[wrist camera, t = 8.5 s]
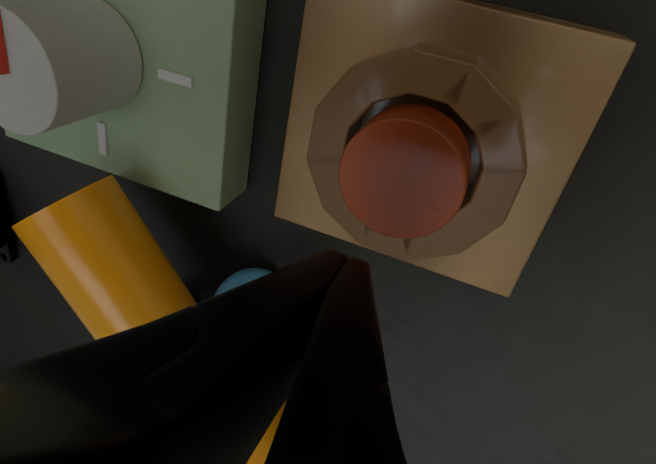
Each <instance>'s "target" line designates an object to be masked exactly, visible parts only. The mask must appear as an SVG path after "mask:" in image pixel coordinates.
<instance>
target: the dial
mask: <svg viewBox="0 0 656 464" xmlns="http://www.w3.org/2000/svg"><path fill="white" fill-rule="evenodd" d="M141 78H142V59H141V53H140V50H139V46H138V43H137V41H136V38H135V36H134V34H133V32H132V30H131V29H130V27H129V25H128V24H127V22H126V21H125V20H124V18H123V17H122V16H121V15H120V14H119V13H118V12H117V11H116V10H115V9H114V8H113V7H112V6H110V5H109V4H107V3H106V2H104V1H102V0H0V126H1V127H3V128H5V129H6V130H8V131H11V132H13V133H16V134H19V135H26V136H33V135H38V134H41V133H44V132H47V131H50V130H53V129H56V128H59V127H62V126H65V125H68V124H71V123H73V122H76V121H79V120H82V119H85V118H88V117H91V116H94V115H97V114H100V113H103V112H106V111H109V110H112V109H115V108H118V107H120V106H123V105H125V104H127V103H128V102H129V101H130V100H131V99H132V98H133V97H134V96H135V94H136V93H137V91H138V89H139V86H140V83H141Z"/></svg>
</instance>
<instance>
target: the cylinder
mask: <svg viewBox="0 0 656 464" xmlns="http://www.w3.org/2000/svg"><path fill="white" fill-rule="evenodd" d="M12 229H13V230H14V231H15V233H16V234H17V235H18V237H19V238H20V240H21V241H22V242H23V244H24V245H25V246H26V248H27V249H28V250H29V252H30V253H31V254H32V256H33V257H34V258H35V260H36V261H37V262H38V264H39V265H40V266H41V268H42V269H43V270H44V272H45V273H46V274H47V276H48V277H49V278H50V280H51V281H52V282H53V284H54V285H55V286H56V288H57V289H58V290H59V292H60V293H61V294H62V296H63V297H64V298H65V300H66V301H67V302H68V304H69V305H70V306H71V308H72V309H73V311H74V312H75V313H76V315H77V316H78V317H79V319H80V320H81V321H82V323H83V324H84V325H85V327H86V328H87V329H88V331H89V332H90V333H91V335H92V336H93V337H94V339H95V340H97V339H100V338H103V337H106V336H110V335H113V334H116V333H119V332H122V331H125V330H128V329H131V328H134V327H137V326H140V325H143V324H146V323H149V322H151V321H154V320H156V319H159V318H162V317H164V316H167V315H169V314H172V313H174V312H177V311H179V310H182V309H184V308H187V307H189V306H191V305H193V306H195V305H196V304H197V303H196V301H195V300H194V298H193V297H192V295H191V294H190V292H189V291H188V289H187V288H186V286H185V285H184V283H183V281H182V280H181V278H180V277H179V275H178V274H177V272H176V271H175V269H174V268H173V266H172V265H171V263H170V262H169V260H168V259H167V257H166V256H165V254H164V253H163V251H162V250H161V248H160V246H159V245H158V243H157V242H156V240H155V239H154V237H153V236H152V234H151V233H150V231H149V230H148V228H147V227H146V225H145V224H144V222H143V221H142V219H141V218H140V216H139V214H138V213H137V211H136V210H135V208H134V207H133V205H132V204H131V202H130V201H129V199H128V198H127V196H126V195H125V193H124V192H123V190H122V189H121V187H120V185H119V184H118V182H117V181H116V179H115V178H114V176H113V175H110V176H107V177H105V178H103V179H101V180H99V181H97V182H95V183H93V184H91V185H88V186H86V187H84V188H82V189H80V190H79V191H77V192H75V193H73V194H71V195H69V196H67V197H65V198H63V199H61V200H59V201H57V202H55V203H53V204H51V205H49V206H48V207H46V208H44V209H42V210H40V211H38V212H36V213H34V214H33V215H31V216H29V217H27V218H25V219H24V220H22V221H20V222H18V223H17V224H15V225H13V226H12ZM271 272H272V271H269V270H267V269H262V268H248V269H244V270H241V271H238V272H236V273H234V274H232V275H231V276H229V277H228V278H227V279H226V280H225V281H224V282H223V283H222V284H221V285H220V286H219V288H218V289H217V291H216V292H215V294H214V296H216V295H218V294H221V293H223V292H225V291H228V290H230V289H233V288H235V287H237V286H240V285H242V284H245V283H247V282H250V281H252V280H254V279H257V278H259V277H262V276H264V275H266V274H269V273H271ZM286 402H287V401H286V400H285V402H284V403H283V405H282V407H281V408H280V410H279V411H278V413H277V415H276V416H275V418H274V420H273V421H272V423H271V424H270V426H269V428H268V429H267V431H266V433H265V434H264V436H263V437H262V439H261V441H260V442H259V444H258V446H257V447H256V449H255V450H254V452H253V454H252V455H251V457H250V458H249V460H248V462H247V463H246V464H264V463H265V461H266V458H267V455H268V452H269V449H270V447H271V444H272V441H273V438H274V435H275V433H276V430H277V427H278V424H279V421H280V419H281V416H282V413H283V410H284V407H285V404H286Z"/></svg>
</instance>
